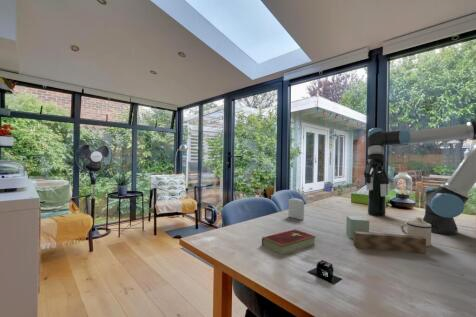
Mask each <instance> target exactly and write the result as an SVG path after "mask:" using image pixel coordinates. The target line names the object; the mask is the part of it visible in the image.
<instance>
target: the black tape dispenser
mask: <svg viewBox="0 0 476 317" xmlns="http://www.w3.org/2000/svg"><path fill="white" fill-rule="evenodd" d="M316 263H317V264H316V266H315V267H313V269H310V270H308V271H306V273H307V274H310V275H312V276H314V277H316V278H318V279H321V280H323V281H325V282H326V283H329V284H330V285H331V284H332V285H336V284H338V283H339V282H341V281H342V280H343V278H341V277H339V276H337V275H336V274H334V266H333V263H332V262H331V263H330V262H329V261H326V260H324V259H321V260H318V261H317V262H316Z"/></svg>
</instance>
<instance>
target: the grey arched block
mask: <svg viewBox="0 0 476 317" xmlns="http://www.w3.org/2000/svg"><path fill="white" fill-rule="evenodd" d="M288 217H289V218H292V219H297V220H300V221H301V220H304V219H305V202H304V200H303V199H301V198H298V197H297V198H295V197H294V198H289V199H288Z"/></svg>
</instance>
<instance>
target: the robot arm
mask: <svg viewBox="0 0 476 317" xmlns="http://www.w3.org/2000/svg"><path fill="white" fill-rule="evenodd" d="M465 139H468V140H469V141H475V140H476V120H472V121H467V122H466V123H463V124H454V125H447V126H442V127H441V126H440V127H434V128H427V129H417V130H411V131H410V130H409V129H408V130H405V129H404V130H403V129H402V130H394V131H384V130H383V129H382V128H379V127H374V128H371V129H369V130H368V132H367V155H368V156H367V160H366V165H365V169H364V171H363V175H364V178H366V190H367V191H369V190H373V177H374V171H375V172H376V174H378V177H379V179H380V182H381V184H380V187H381V196H386V197H387V196H388V193H387V188H388V186H387V185H389V179H388V176H387V171H386V167H385V166H383V165H382V164H383V163H384V162H385V156H384V155H385V146H392V147H400V146H408V145H409V146H410V145H418V144H428V143H436V142H446V141H448V142H449V141H456V140H465ZM372 176H373V177H372ZM475 184H476V141H475V142H474V144H473V145H472V146H471V148H470V149H469V151H468V152H467V154H466V155H465V156H464V158H463V159H462V160H461V161H460V163H459V165H458V166H457V167H456V169H455V170H454V172H453V173H452V174H451V175H450V177H449V179H448V180H447V181H446V182H445V183H442V184H440V185H439V186H438V187H432V186H431V187H430V186H429V187H426V188H425V192H424V194H425V196H424V197H425V198H424V199H425V203H424V206H425V207H424V211H425V212H424V215H423V218H422V220H423V221H425V222H426V223H429V224H431V225H432V228H431V233H436V234H442V235H449V236H451V235H452V236H453V235H458V233H459V228H458V226H457V224H456V221H455V219H454V218H456V217H459V216H460V215H461V214H462V213H463V212H464V210H465V205H466V203H467V202H468V200H469V199H470V196H469V192H470V190H471V189H472V188H473V187H474V185H475Z"/></svg>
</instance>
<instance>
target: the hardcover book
mask: <svg viewBox="0 0 476 317" xmlns="http://www.w3.org/2000/svg"><path fill="white" fill-rule="evenodd" d="M315 238H317V236H316V235H314V234H310V233H307V232H304V231H302V230H299V229H295V228H294V229H292V230H287V231H284V232H277V233H275V234H271V235H267V236H263V237H262V238H261V246H264V247H266V248H268V249H270V250H272V251H274V252H276V253H279V254H280V255H285V254H289V253H293V252H294V251H298V250H301V249H303V248H306V247H310V246H313V245H315Z"/></svg>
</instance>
